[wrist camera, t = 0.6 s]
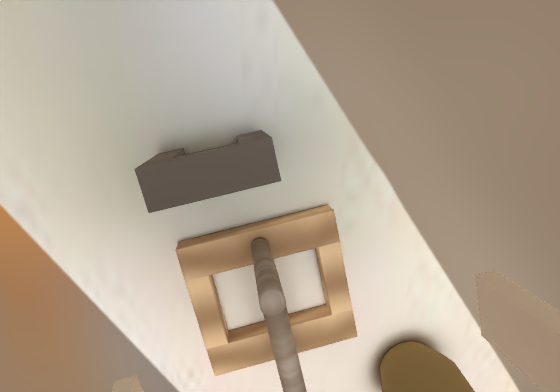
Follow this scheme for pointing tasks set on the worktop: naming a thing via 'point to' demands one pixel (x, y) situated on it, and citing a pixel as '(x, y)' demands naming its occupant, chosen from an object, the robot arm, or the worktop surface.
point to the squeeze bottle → (420, 370)
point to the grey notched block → (208, 172)
